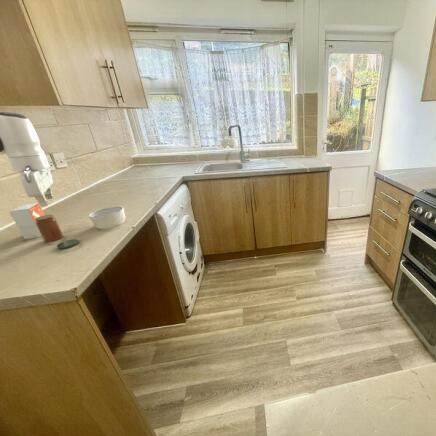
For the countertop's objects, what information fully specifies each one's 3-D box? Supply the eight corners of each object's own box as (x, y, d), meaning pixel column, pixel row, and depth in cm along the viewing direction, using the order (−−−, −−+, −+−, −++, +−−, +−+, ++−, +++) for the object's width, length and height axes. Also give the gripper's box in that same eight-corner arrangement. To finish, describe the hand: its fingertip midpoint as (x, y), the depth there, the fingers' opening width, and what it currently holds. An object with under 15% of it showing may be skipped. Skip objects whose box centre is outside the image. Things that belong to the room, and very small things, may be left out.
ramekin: (108, 219, 121) (103, 206, 118) (134, 218, 120) (129, 205, 117) (87, 231, 109) (81, 217, 106) (115, 231, 108) (110, 216, 105)
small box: (43, 236, 104) (28, 208, 99) (24, 239, 103) (8, 211, 97) (52, 229, 111) (38, 202, 106) (35, 231, 110) (20, 204, 104)
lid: (82, 242, 100) (81, 238, 99) (76, 249, 94) (74, 245, 93) (63, 245, 98) (61, 240, 97) (55, 253, 92) (53, 248, 91)
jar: (44, 245, 98) (32, 221, 93) (46, 239, 102) (35, 216, 98) (63, 240, 101) (53, 217, 97) (65, 235, 105) (54, 213, 101)
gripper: (36, 168, 77) (53, 208, 82) (49, 158, 92) (63, 193, 98) (7, 170, 74) (28, 212, 79) (26, 160, 89) (41, 196, 95)
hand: (47, 202), depth 89 cm, fingers open, 8 cm apart
